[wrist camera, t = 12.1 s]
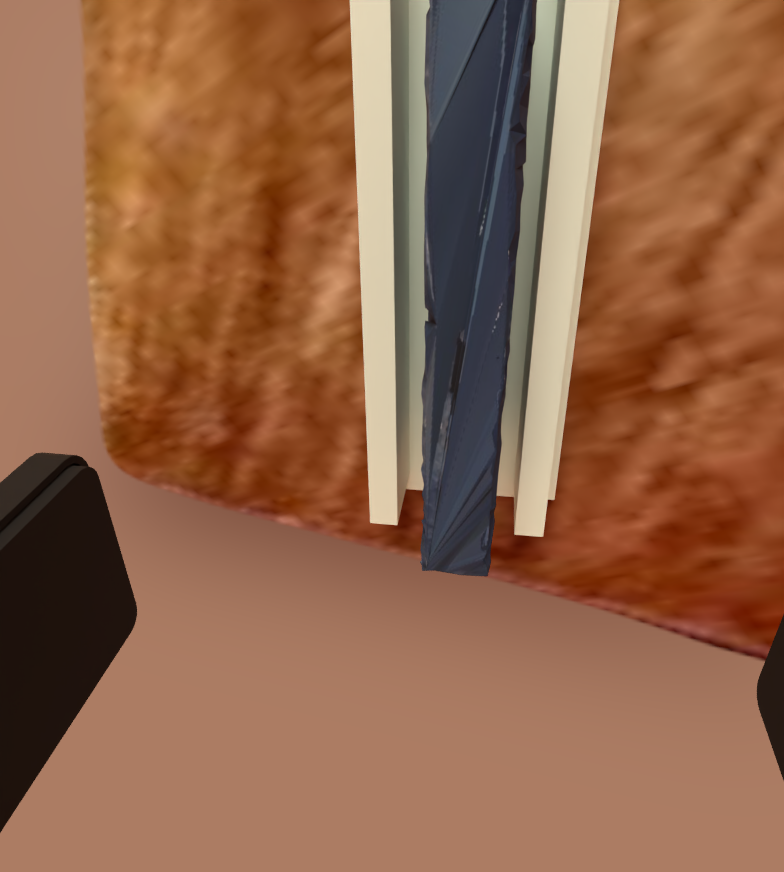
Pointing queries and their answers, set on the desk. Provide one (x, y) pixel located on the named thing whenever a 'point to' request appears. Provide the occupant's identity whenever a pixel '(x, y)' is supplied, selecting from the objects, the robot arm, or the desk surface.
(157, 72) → the desk surface
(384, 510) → the rack
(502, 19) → the vhs cassette tape
